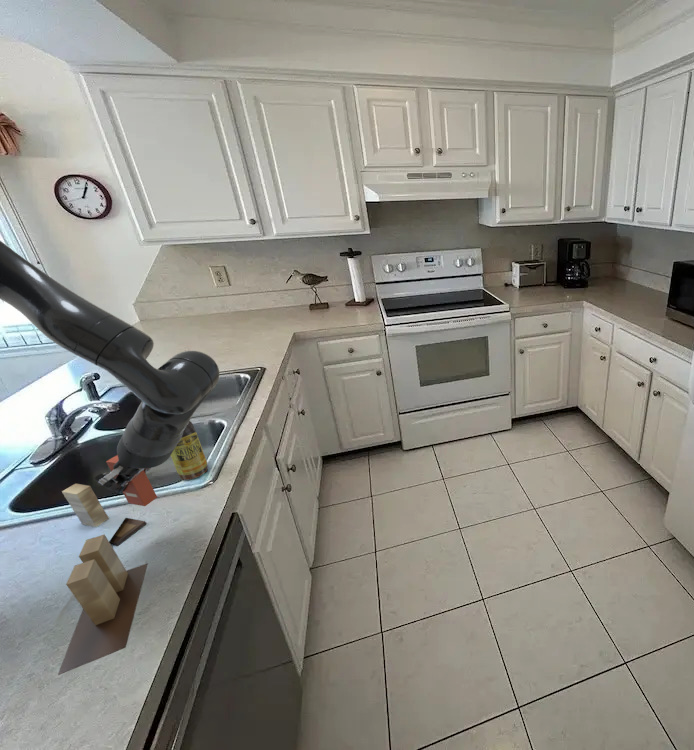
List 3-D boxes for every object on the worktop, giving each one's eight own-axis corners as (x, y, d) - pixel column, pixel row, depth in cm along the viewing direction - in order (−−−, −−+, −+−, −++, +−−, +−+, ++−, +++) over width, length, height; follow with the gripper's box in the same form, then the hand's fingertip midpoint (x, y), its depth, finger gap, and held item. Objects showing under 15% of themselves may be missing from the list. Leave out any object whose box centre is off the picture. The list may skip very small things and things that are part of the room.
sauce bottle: (187, 484, 100) (156, 414, 91) (175, 476, 103) (143, 407, 94) (215, 469, 105) (188, 402, 96) (203, 462, 108) (175, 395, 99)
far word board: (117, 545, 83) (93, 505, 79) (73, 536, 86) (47, 496, 81) (146, 523, 88) (125, 484, 84) (103, 515, 91) (81, 477, 86)
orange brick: (144, 506, 78) (122, 464, 73) (128, 503, 79) (105, 461, 74) (157, 497, 80) (137, 455, 76) (141, 494, 81) (120, 453, 77)
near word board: (59, 678, 61) (21, 633, 56) (95, 584, 75) (66, 542, 71) (127, 650, 64) (96, 605, 60) (149, 566, 79) (125, 524, 74)
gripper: (171, 402, 76) (145, 448, 84) (88, 445, 63) (66, 495, 71) (204, 429, 77) (176, 472, 85) (129, 477, 65) (103, 523, 73)
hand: (126, 483), depth 78 cm, fingers closed on orange brick, 2 cm apart
